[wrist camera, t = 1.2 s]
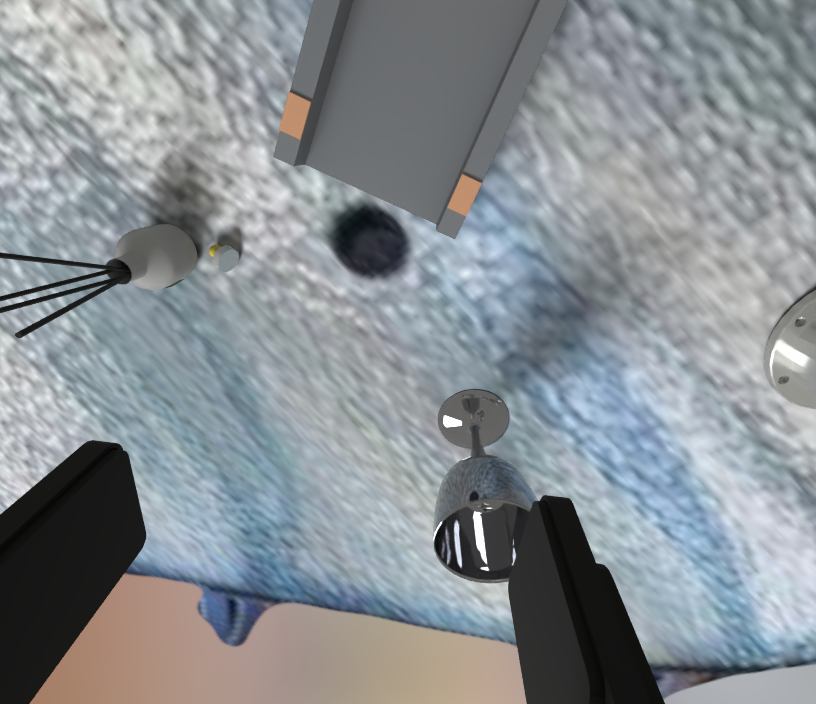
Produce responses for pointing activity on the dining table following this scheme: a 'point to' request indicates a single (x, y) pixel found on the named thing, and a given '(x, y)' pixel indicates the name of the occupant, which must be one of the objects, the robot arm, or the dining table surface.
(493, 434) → the wine glass
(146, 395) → the dining table surface
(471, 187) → the bay
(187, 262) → the reed diffuser
